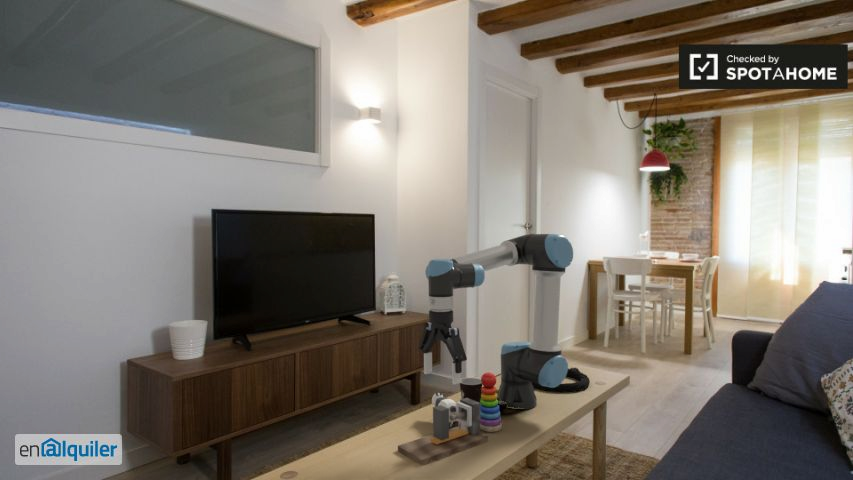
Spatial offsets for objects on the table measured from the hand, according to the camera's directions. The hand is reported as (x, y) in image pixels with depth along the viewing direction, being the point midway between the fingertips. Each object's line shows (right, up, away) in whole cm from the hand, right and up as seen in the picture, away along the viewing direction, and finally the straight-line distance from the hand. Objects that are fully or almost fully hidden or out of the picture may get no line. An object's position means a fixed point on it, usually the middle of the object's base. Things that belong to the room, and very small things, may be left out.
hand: (441, 378), depth 157 cm
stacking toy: (+17, -21, +13) cm, 30 cm away
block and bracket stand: (+3, -19, +1) cm, 19 cm away
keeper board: (+1, -21, 0) cm, 21 cm away
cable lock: (+52, -20, +64) cm, 85 cm away
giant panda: (+1, -21, +18) cm, 28 cm away
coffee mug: (+12, -20, +31) cm, 39 cm away
